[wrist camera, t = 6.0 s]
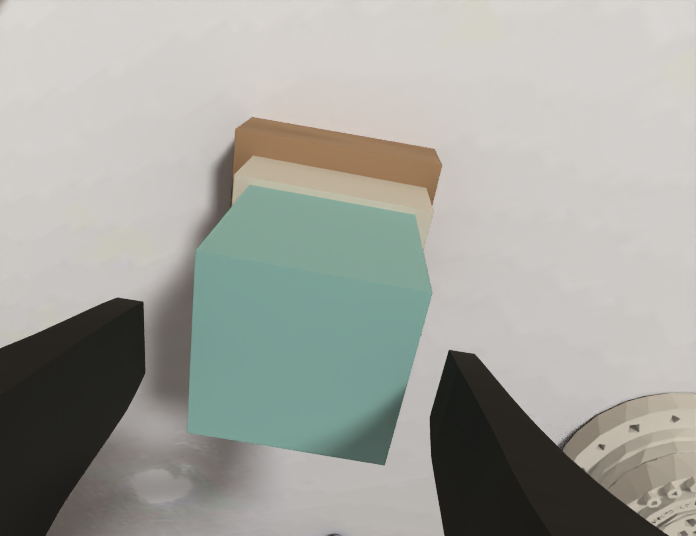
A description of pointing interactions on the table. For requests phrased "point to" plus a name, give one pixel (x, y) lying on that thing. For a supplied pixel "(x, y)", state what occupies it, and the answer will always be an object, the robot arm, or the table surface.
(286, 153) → the slab base
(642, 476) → the mechanical component
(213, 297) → the cube
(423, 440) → the table surface
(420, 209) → the slab top
